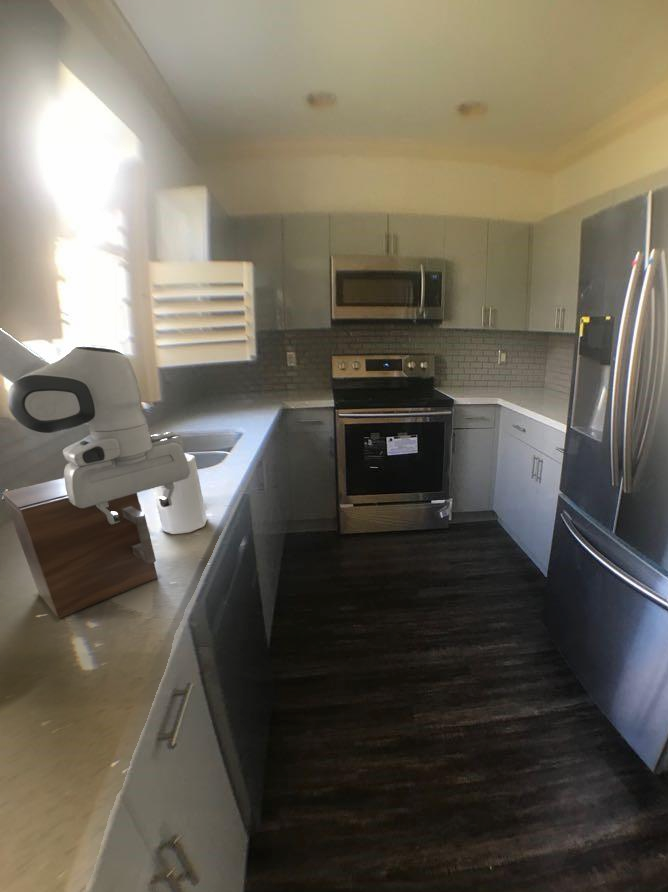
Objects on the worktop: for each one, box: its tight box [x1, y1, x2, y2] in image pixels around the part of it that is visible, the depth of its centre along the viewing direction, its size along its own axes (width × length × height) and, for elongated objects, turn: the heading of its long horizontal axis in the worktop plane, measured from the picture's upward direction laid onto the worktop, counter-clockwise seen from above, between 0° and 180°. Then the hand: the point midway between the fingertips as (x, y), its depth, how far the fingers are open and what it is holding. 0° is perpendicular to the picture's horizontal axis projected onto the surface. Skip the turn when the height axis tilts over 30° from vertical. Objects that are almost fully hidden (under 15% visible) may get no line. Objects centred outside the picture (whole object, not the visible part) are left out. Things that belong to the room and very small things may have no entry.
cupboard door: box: [19, 493, 158, 619], centre depth 86 cm, size 8×18×22 cm, turn 139°
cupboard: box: [2, 477, 68, 617], centre depth 92 cm, size 12×18×22 cm, turn 139°
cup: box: [152, 453, 208, 535], centre depth 119 cm, size 11×11×18 cm
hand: (141, 513), depth 85 cm, fingers open, 8 cm apart
